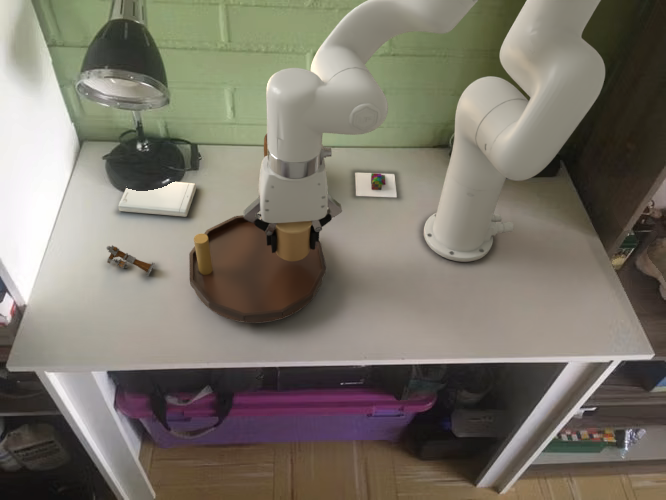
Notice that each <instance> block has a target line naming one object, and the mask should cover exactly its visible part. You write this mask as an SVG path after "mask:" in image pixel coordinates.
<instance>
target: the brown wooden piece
mask: <svg viewBox="0 0 666 500" xmlns="http://www.w3.org/2000/svg"><path fill="white" fill-rule="evenodd" d="M106 250H107V251H108V253H110V255H109V256H108V258H107V261H106V263H107V264H111V263H112V262H114V264H116V267H120V268H122V269H124V268H125V269H127V268H129V264H130V265H134V266H136V267H137V268H139V269H141V270H142V271H144V272H145V273H146V276H147V277H149V275H150V274H151V272H152V270H153V268H154V267H155V262H151V263H148V262H145V261H143V260H139V259H138V258H137V257H135V256H133V255H131V254H129V253H128V252H126V253H125V252H124V251H122V250H120V248H118V247H117V246H114V245H113V244H112V245H111V246H110V245H107V246H106ZM117 258H119V259H117ZM127 263H128V264H127Z"/></svg>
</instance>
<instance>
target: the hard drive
mask: <svg viewBox="0 0 666 500" xmlns="http://www.w3.org/2000/svg"><path fill="white" fill-rule="evenodd" d="M196 191H197V184H196V183H194V182H193V183H192V182H184V181H175V182H172V183H170V184H168V185H167V186H164V187H162V188H158V189H154V190H148V191H136V190H132V189H128V188H126V187H125V190H124V191H123V193H122V196H121V198H120V201H119V202H118V206H117V207H118V211H119V212H127V213H139V214H150V215H161V216H174V217H184V218H185V217H188V214H189V212H190V208H191V204H192V203H193V199H194V197H195V194H196Z"/></svg>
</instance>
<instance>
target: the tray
mask: <svg viewBox="0 0 666 500" xmlns="http://www.w3.org/2000/svg"><path fill="white" fill-rule="evenodd" d="M259 214H260V215H261V213H259ZM193 243H194V245H193V248H191V250H190V251H189V254H188V255H189V257H188V260H189V262H188V263H189V264H188V265H189V266H188V267H189V285H190V287H191V288H192V289H193V290H194V292H195V294H196V296H197V297H198V299H199V301H201V303H203V305H205V307H206V308H208V309H209V310H211V311H212V312H213V313H215V314H217V315H219V316H221V317H224V318H226V319H229V320H231V321H236V322H241V323H247V324H249V323H250V324H259V323H269V322H275V321H278V320H282V319H284V318H287V317H290V316H292V315H294V314H295V313H297V312H299V311H300V310H302V309H303V308H305V307H306V306H307V305H308V304H310V303H311V301H312V300H313V299H314V298H315V297H316V296H317V294H318V292H319V290H320V289H321V287H322V283H323V280H324V277H325V275H326V274H327V273H326V272H327V265H326V261H325V256H324V251H323V246H322V242H321V241H320V240H319V242H315V250H312V249H310V250H309V253H308V255H307V256H306V257H305V258H303V259H301V260H298V261H287V260H284V259H282V258H280V257H279V256H278V255H277V253H276V252H275V253H272V249H271V245H269V246H267V242H266V234H265V231H263V230H261V229H260V228H258V227H256V226H255V224H254V223H251V222H249V221H247V220H245V219H244V215H243V214H241V215H234V216H232V217H230V218H228V219H226V220H224V221H222V222H219V223H218V224H216V225H214V226H212V227H210V228H208V229H206V230H205V232H204V233H201V232H200V233H197V234H195V236H194V237H193Z"/></svg>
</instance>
